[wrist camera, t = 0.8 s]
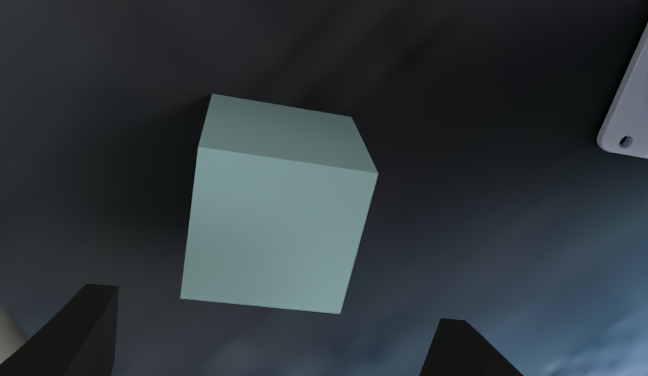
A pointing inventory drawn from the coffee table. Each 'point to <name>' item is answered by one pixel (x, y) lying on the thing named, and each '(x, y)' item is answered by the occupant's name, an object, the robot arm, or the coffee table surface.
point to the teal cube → (276, 206)
